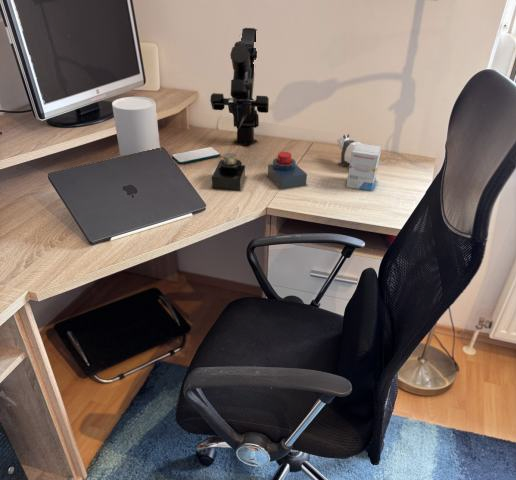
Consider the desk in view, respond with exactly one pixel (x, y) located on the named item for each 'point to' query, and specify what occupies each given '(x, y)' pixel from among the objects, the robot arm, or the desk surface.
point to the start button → (284, 158)
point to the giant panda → (346, 149)
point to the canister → (136, 124)
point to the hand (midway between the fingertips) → (237, 128)
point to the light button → (230, 159)
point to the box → (286, 175)
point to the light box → (228, 176)
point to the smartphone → (195, 155)
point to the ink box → (363, 166)
